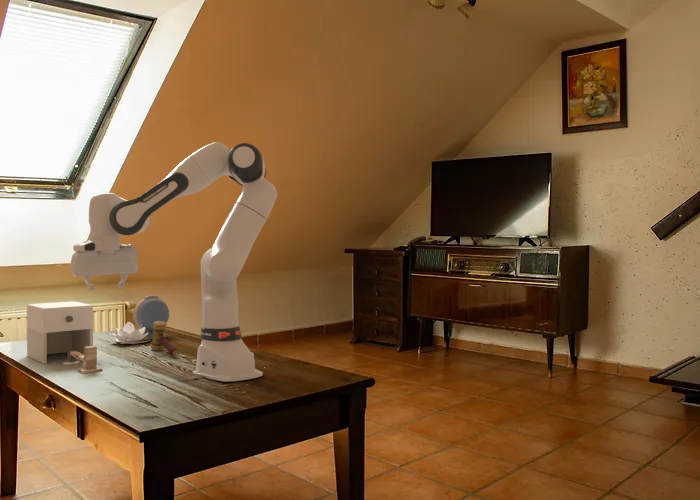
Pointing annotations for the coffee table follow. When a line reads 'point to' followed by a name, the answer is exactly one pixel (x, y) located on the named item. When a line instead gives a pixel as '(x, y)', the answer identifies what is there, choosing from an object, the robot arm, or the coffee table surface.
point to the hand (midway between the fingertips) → (106, 289)
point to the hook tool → (85, 359)
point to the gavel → (161, 339)
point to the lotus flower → (129, 334)
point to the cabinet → (58, 328)
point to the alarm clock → (150, 314)
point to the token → (70, 362)
